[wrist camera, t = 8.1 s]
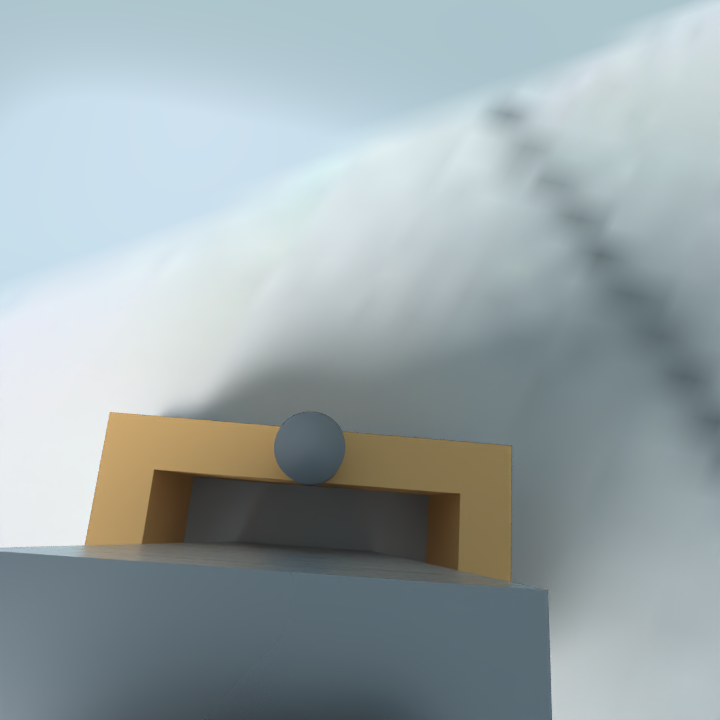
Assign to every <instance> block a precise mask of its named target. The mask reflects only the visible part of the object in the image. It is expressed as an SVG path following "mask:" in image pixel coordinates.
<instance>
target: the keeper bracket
mask: <svg viewBox="0 0 720 720" xmlns="http://www.w3.org/2000/svg"><path fill="white" fill-rule="evenodd" d="M511 490H512V446H510V445H498V444H486V443H474V442H462V441H450V440H438V439H426V438H414V437H402V436H390V435H378V434H366V433H354V432H342V431H341V429H340V427H339V426H338V424H337V423H336V422H335V421H334V420H332V419H331V418H330V417H328V416H327V415H324V414H322V413H318V412H303V413H299V414H296V415H294V416H292V417H291V418H289V419H288V420H287V421H286V422H284V424H283V425H282V426H270V425H258V424H246V423H234V422H222V421H210V420H198V419H186V418H174V417H162V416H150V415H138V414H126V413H114V412H110V414H109V420H108V425H107V430H106V435H105V441H104V446H103V451H102V457H101V462H100V467H99V473H98V478H97V483H96V489H95V494H94V499H93V504H92V510H91V515H90V520H89V526H88V531H87V536H86V542H85V545H122V544H158V543H195V542H231V541H238V542H252V543H265V544H279V545H293V546H306V547H320V548H334V549H347V550H361V551H374V552H379V553H383V554H388V555H392V556H397V557H401V558H406V559H410V560H415V561H419V562H423V563H428V564H432V565H437V566H441V567H446V568H450V569H455V570H459V571H464V572H468V573H473V574H477V575H482V576H486V577H491V578H495V579H500V580H504V581H509V582H511Z"/></svg>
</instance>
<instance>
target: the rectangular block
mask: <svg viewBox="0 0 720 720" xmlns="http://www.w3.org/2000/svg"><path fill="white" fill-rule="evenodd" d="M0 720H552V704H551V673H550V641H549V610H548V590H544V589H540V588H536V587H531V586H527V585H522V584H518V583H513V582H509V581H504V580H500V579H495V578H491V577H486V576H482V575H477V574H473V573H468V572H464V571H459V570H455V569H450V568H446V567H441V566H437V565H432V564H428V563H423V562H419V561H415V560H410V559H406V558H401V557H397V556H392V555H388V554H383V553H379V552H374V551H361V550H347V549H334V548H320V547H306V546H293V545H279V544H265V543H252V542H238V541H231V542H195V543H158V544H122V545H85V546H49V547H12V548H0Z"/></svg>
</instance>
